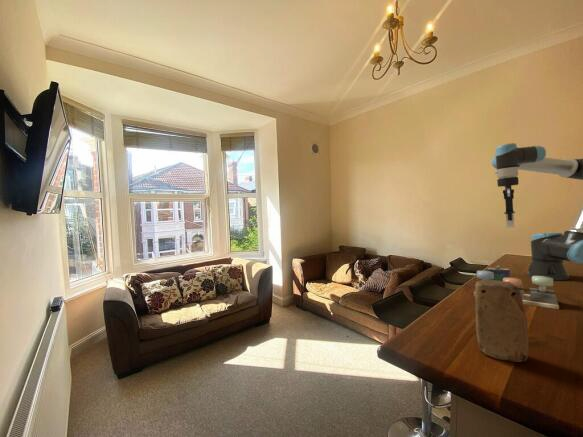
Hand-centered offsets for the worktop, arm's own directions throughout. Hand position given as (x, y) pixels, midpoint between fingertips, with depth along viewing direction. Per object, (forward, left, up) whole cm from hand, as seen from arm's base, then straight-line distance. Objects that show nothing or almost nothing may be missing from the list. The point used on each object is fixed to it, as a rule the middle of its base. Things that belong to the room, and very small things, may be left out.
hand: (510, 227), depth 118 cm
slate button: (+20, +4, -25) cm, 32 cm away
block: (+58, +40, -29) cm, 76 cm away
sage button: (+9, +18, -25) cm, 32 cm away
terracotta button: (+15, +11, -27) cm, 32 cm away
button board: (+15, +11, -29) cm, 34 cm away
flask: (+6, -2, -29) cm, 30 cm away
